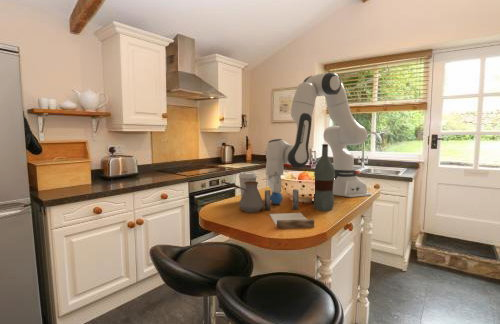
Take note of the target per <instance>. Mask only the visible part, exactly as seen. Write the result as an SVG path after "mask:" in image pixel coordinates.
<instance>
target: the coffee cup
mask: <svg viewBox="0 0 500 324" xmlns="http://www.w3.org/2000/svg"><path fill="white" fill-rule="evenodd" d="M257 178H258V175H257V172H254V171H241V172H239V174H238V179H239V187H242V188H246V185H245V184H244V183H245V182H249V181H253V182H257ZM243 193H244V190H242V189H240V198H241V197H242V195H243Z"/></svg>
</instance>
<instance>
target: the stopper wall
mask: <svg viewBox="0 0 500 324" xmlns="http://www.w3.org/2000/svg"><path fill="white" fill-rule="evenodd" d="M276 228H277V229H279V230H280V229H296V228H297V229H298V228H299V229H301V228H302V229H303V228H315V220H314V219H313V218H306V219H300V220H277V225H276Z"/></svg>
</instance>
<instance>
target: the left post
mask: <svg viewBox="0 0 500 324" xmlns="http://www.w3.org/2000/svg"><path fill="white" fill-rule="evenodd" d="M271 195H272V191H271V189H270V190H268V189H265V190H264V211H267V212H269V211H271V200H270V197H271Z"/></svg>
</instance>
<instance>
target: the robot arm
mask: <svg viewBox="0 0 500 324" xmlns="http://www.w3.org/2000/svg"><path fill="white" fill-rule="evenodd" d="M321 96H322V97H323V96H324V97H325V102H326V103H325V104H326V108H327V111H328V116H329V119H330V120H331V121H333V122H334V123H335V124H337V125H331V126H328V127H326V128H325V130H324V131H323V135H322V136H323V139H324V141H325V143H326V144H328V146H329V147H330V150H331V152H332V158H333V162H332V164H333V166H334V172H335V175H334V178H335V180H334V183H333V196H340V197H346V198H353V197H354V198H355V197H366V196H371V195H372V193H371V192H370V191H368V187H367V184H366V183H365V182H364V180H362V179H361V178H360V177H358V175H360V174H361V171H360V170H355V169H354V167H355V163H354V162H355V156H354V154H353V153H352V152H350V151H349V149H348V148H347V146H359V145H363V144H364V143H365V142H366V141H367V139H368V131H367V129H366V128H365V126H364V125H363V126H362V125H361V124H360V123H359V122H357V120H356V119H355V117H354V115H353V114H352V112H351V107H350V104H349V100H348V96H347V92H346V89H345V87H344V84H343V83H342V81H341V77H340V76H339V75H338V73H336V72H323V73H318V74H314V75H310V76H308V77H306V78H305V79H304V80H303V82H301V83H299V84H298V85H297V88H296V90H295V92H294V96H293V99H292V101H291V107H290V108H291V109H290V116H291V118H292V120H293V121H294V122H295V124H296V134H295V141H294V145H293V144H290V143H288V142H287V141H286V140H285V141H284V139H282V138H275V139H271V140H269V141H267V145H266V150H265V151H266V153H265V154H266V156H265V157H266V163H265V175H266V177H267V178H266V179H267V186H268V187H269V189H270V191H271V194H272V193H280V194H281V193H282V177H281V176H283V175H284V165H285V164H287V165H290V166H292V167H293V168H295V169H301V168H303V167H305V166H306V165H307V164H308V163H309V160H310V150H309V145H310V144H309V143H310V138H311V137H310V135H311V130H312V123H313V122H312V121H313V120H312V119H313V115H314V114H313V113H314V109H315V106H316V105H315V103H316V99H317V97H321Z"/></svg>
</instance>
